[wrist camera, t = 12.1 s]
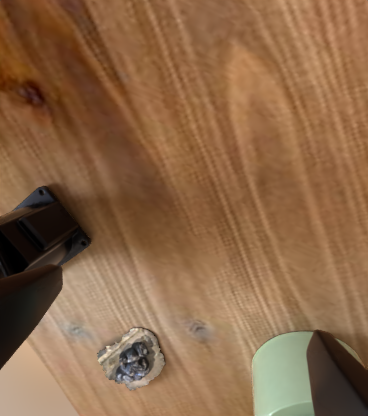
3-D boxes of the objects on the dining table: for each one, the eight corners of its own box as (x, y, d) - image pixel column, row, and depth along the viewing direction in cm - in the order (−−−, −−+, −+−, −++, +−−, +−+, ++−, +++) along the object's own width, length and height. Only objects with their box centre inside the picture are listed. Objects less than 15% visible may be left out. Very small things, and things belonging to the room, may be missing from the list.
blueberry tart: (92, 363, 28) (83, 379, 27) (115, 312, 26) (106, 326, 24) (147, 392, 28) (142, 410, 26) (177, 344, 25) (172, 361, 24)
